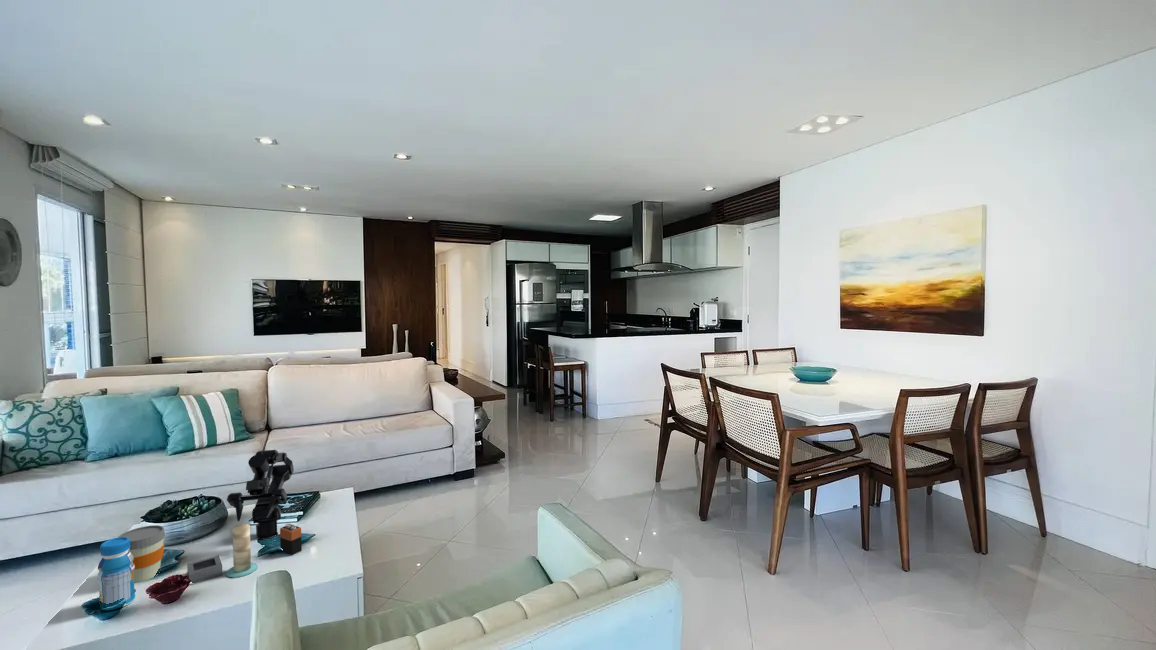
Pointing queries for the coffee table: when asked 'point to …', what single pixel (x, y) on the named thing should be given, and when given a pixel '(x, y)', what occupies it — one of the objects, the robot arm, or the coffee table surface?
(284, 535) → the battery
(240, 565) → the plug
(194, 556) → the coffee table surface
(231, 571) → the mat
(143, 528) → the reusable coffee cup
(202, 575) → the socket block
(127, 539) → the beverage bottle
